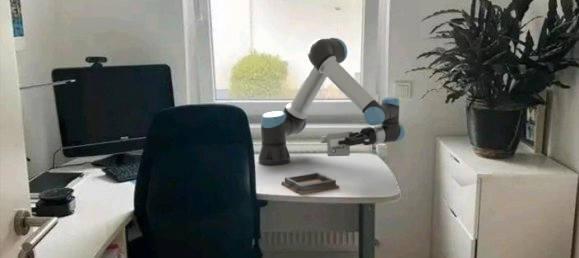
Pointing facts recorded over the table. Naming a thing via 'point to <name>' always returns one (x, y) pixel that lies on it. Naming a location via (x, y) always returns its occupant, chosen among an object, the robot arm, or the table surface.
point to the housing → (310, 183)
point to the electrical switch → (339, 150)
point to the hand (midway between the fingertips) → (325, 141)
